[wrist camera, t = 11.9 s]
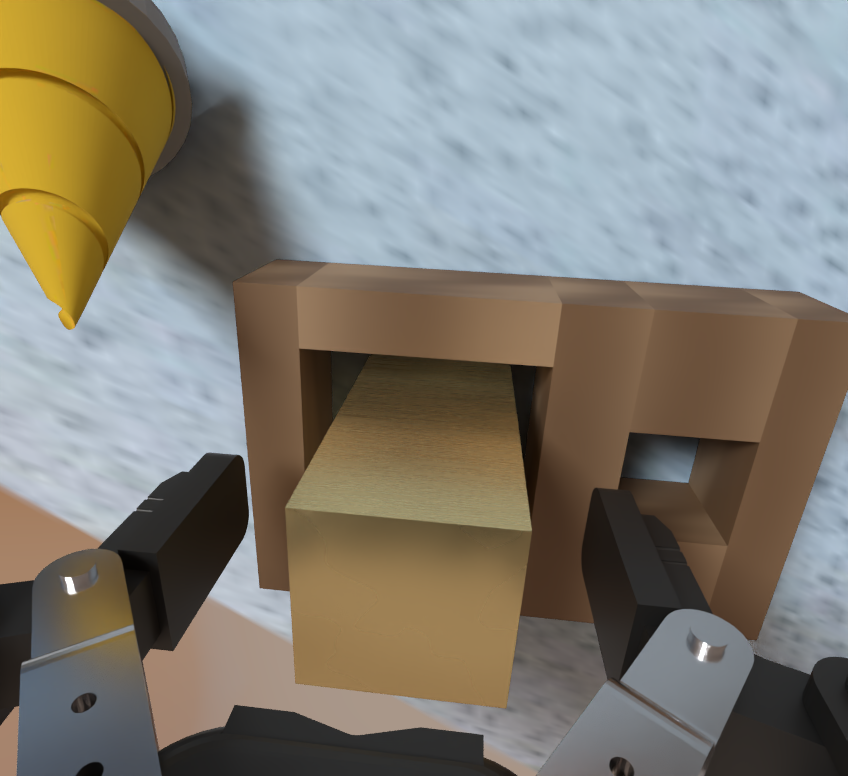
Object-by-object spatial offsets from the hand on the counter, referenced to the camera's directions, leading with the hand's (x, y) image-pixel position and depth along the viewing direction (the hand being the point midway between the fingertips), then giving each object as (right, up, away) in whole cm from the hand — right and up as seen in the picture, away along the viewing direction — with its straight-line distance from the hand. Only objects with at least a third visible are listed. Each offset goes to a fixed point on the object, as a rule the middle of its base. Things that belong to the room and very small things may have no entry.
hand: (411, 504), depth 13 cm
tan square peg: (+1, +2, +4) cm, 5 cm away
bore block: (+3, +2, +4) cm, 5 cm away
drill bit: (-7, +10, +2) cm, 12 cm away
